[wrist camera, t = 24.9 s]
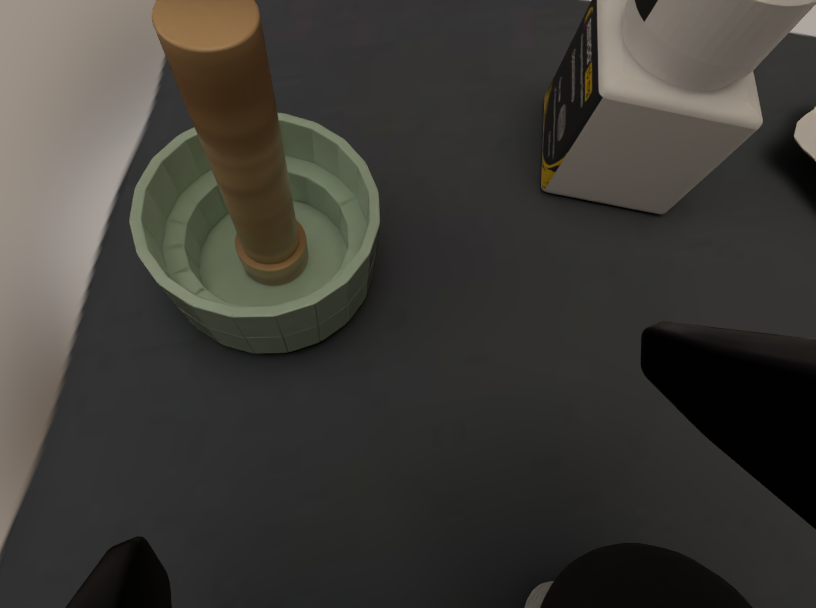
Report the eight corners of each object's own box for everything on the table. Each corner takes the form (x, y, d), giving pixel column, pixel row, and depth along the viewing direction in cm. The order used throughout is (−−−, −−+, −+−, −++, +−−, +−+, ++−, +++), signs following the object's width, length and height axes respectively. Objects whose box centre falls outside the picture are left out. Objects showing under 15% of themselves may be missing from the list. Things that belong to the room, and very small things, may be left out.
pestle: (306, 286, 22) (267, 65, 11) (238, 285, 21) (124, 54, 10) (309, 229, 23) (277, -25, 12) (244, 226, 23) (148, -37, 12)
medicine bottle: (542, 96, 29) (663, -154, 18) (656, 120, 29) (842, -111, 18) (538, 193, 26) (679, -33, 15) (664, 218, 26) (890, 15, 15)
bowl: (376, 354, 22) (385, 314, 17) (164, 360, 20) (111, 319, 16) (369, 187, 25) (374, 116, 20) (186, 183, 24) (148, 107, 19)
